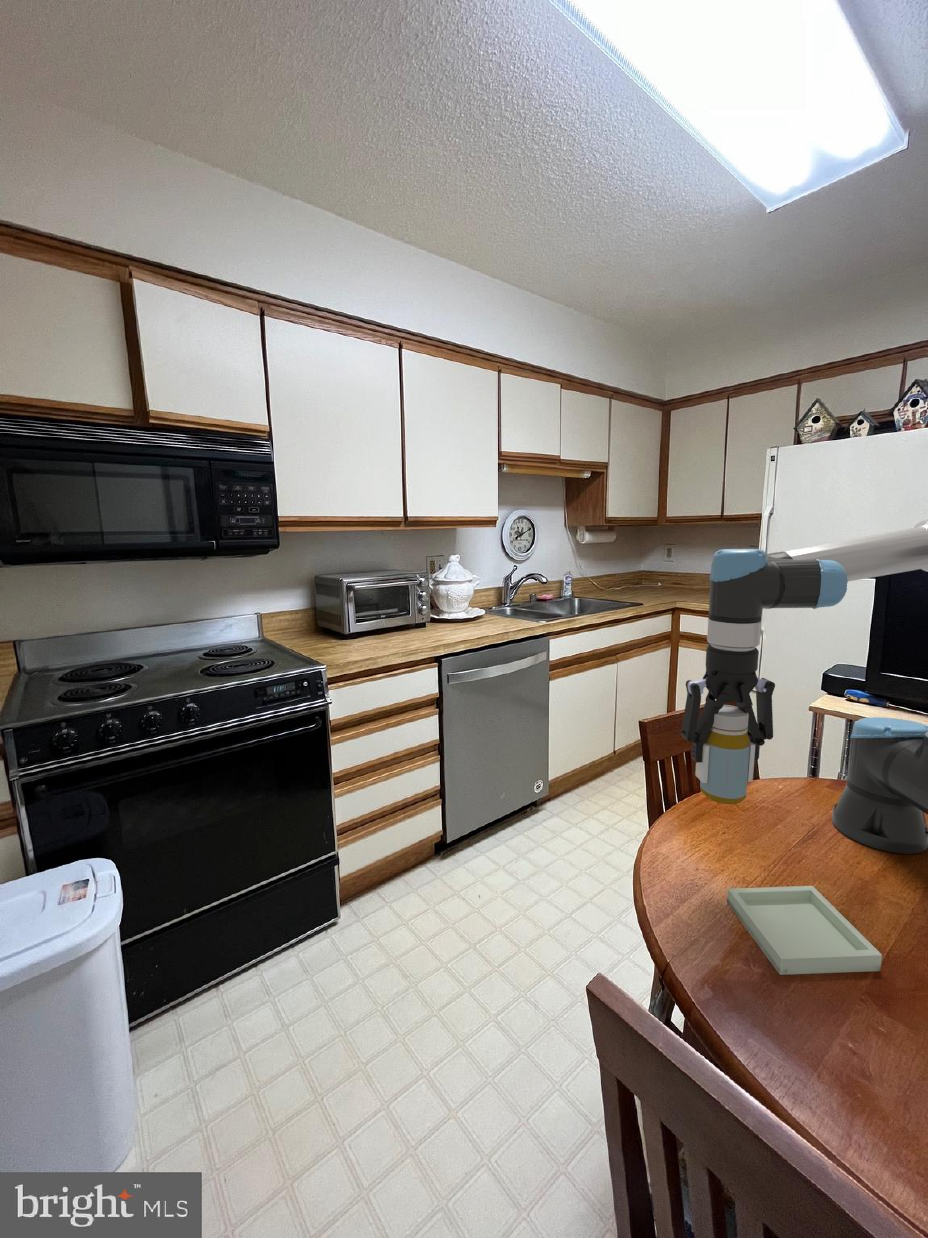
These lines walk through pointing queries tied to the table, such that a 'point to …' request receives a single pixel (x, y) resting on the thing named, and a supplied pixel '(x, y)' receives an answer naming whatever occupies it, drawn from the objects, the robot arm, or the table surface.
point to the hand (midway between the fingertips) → (723, 778)
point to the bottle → (728, 757)
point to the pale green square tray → (802, 931)
